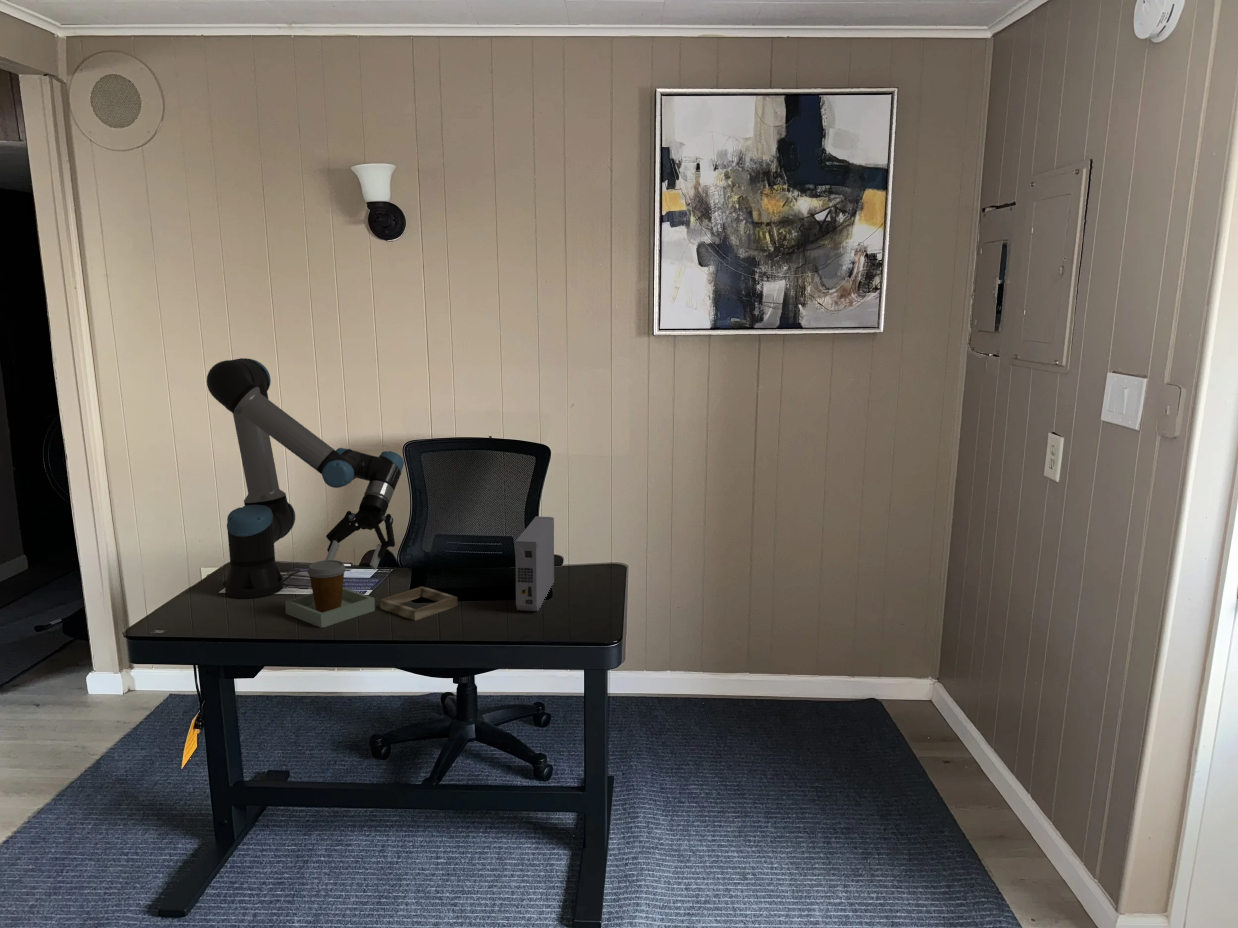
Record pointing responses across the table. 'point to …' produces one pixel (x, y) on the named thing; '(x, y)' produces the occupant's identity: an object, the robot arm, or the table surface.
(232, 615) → the table surface
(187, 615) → the table surface
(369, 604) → the tray
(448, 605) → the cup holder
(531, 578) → the game console
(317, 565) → the disposable coffee cup
